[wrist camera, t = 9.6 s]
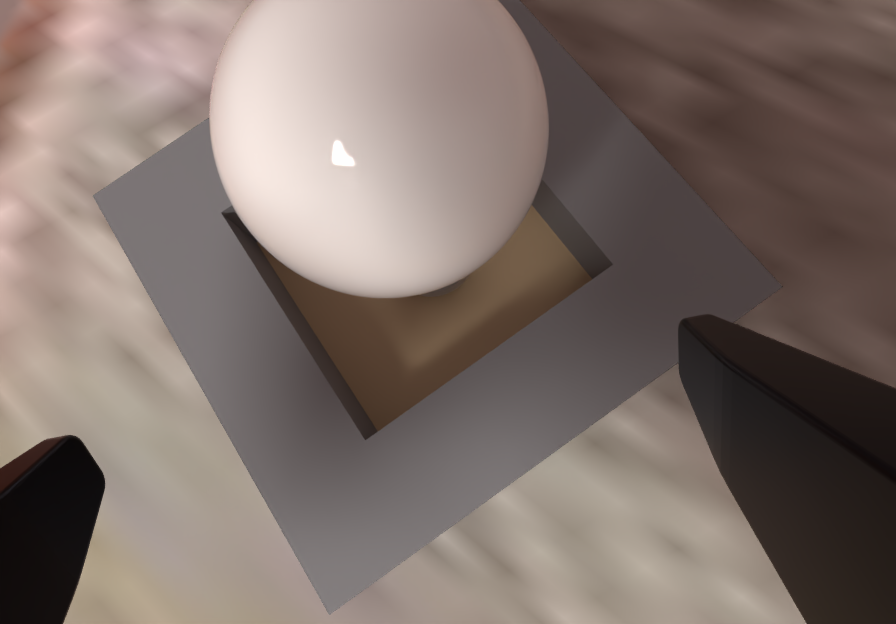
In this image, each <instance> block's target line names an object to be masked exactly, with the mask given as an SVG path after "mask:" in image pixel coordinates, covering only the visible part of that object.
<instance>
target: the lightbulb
mask: <svg viewBox="0 0 896 624" xmlns="http://www.w3.org/2000/svg"><path fill="white" fill-rule="evenodd" d="M209 127H210V138H211V146H212V151H213V156H214V160H215V164H216V168H217V171H218V175H219V177H220V180H221V183H222V185H223V188H224V190H225V192H226V195H227V197H228V199H229V201H230V203H231V204H232V206H233V208H234V210H235V211H236V213H237V215H238V216H239V218H240V219H241V221H242V222H243V224H244V225H245V226H246V228H247V229H248V230H249V232H250V233H251V234H252V235H253V236H254V238H255V239H256V240H257V241H258V242H259V243H260V244H261V245H262V246H263V247H264V248H265V249H266V250H267V251H268V252H269V253H270V254H271V255H272V256H273V257H275V258H276V259H277V260H278V261H279V262H281V263H282V264H283V265H285V266H286V267H287V268H289V269H290V270H292V271H293V272H295V273H297V274H298V275H300V276H302V277H304V278H305V279H307V280H309V281H311V282H313V283H316V284H318V285H320V286H323V287H325V288H328V289H331V290H334V291H337V292H340V293H344V294H348V295H353V296H359V297H366V298H380V299H389V298H403V297H410V296H416V295H420V296H426V297H436V296H441V295H445V294H448V293H450V292H452V291H454V290H455V289H457V288H458V287H460V286H461V285H462V284H463V283H464V282H465V281H466V279H467V278H468V277H469V275H470V274H471V273H473V272H474V271H476V270H477V269H478V268H480V267H481V266H483V265H484V264H485V263H486V262H488V261H489V260H490V259H491V258H492V257H493V256H494V255H495V254H497V253H498V252H499V251H500V250H501V249H502V247H503V246H504V245H505V244H506V243H507V242H508V241H509V240H510V238H511V237H512V236H513V235H514V233H515V232H516V230H517V229H518V228H519V226H520V225H521V223H522V222H523V220H524V218H525V217H526V215H527V213H528V211H529V209H530V207H531V205H532V203H533V201H534V199H535V196H536V194H537V191H538V189H539V186H540V183H541V180H542V176H543V172H544V168H545V163H546V158H547V151H548V143H549V111H548V103H547V96H546V91H545V86H544V82H543V78H542V75H541V72H540V68H539V66H538V63H537V60H536V58H535V55H534V53H533V51H532V49H531V47H530V45H529V43H528V41H527V39H526V37H525V35H524V34H523V32H522V30H521V29H520V27H519V26H518V24H517V23H516V21H515V20H514V18H513V17H512V16H511V14H510V13H509V12H508V11H507V9H506V8H505V7H504V6H503V5H502V4H501V3H500V1H499V0H253V1H252V2H251V3H250V4H249V5H248V7H247V8H246V9H245V11H244V12H243V13H242V15H241V16H240V18H239V19H238V21H237V22H236V24H235V25H234V27H233V29H232V30H231V32H230V34H229V36H228V38H227V40H226V42H225V44H224V47H223V49H222V52H221V54H220V57H219V60H218V63H217V66H216V70H215V73H214V78H213V82H212V88H211V96H210V108H209Z"/></svg>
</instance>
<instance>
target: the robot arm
mask: <svg viewBox="0 0 896 624" xmlns="http://www.w3.org/2000/svg"><path fill="white" fill-rule="evenodd" d="M678 361H679V373H680V378H681V381H682V384H683V386H684V389H685V391H686V393H687V396H688V398H689V400H690V403H691V405H692V407H693V410H694V412H695V415H696V417H697V419H698V422H699V424H700V426H701V429H702V431H703V434H704V436H705V438H706V441H707V443H708V445H709V448H710V450H711V452H712V455H713V457H714V459H715V462H716V464H717V466H718V468H719V471H720V473H721V475H722V476H723V478H724V480H725V482H726V484H727V486H728V488H729V489H730V491H731V493H732V495H733V496H734V498H735V500H736V502H737V503H738V505H739V507H740V509H741V510H742V512H743V514H744V516H745V517H746V519H747V521H748V522H749V524H750V526H751V528H752V529H753V531H754V533H755V535H756V536H757V538H758V540H759V542H760V543H761V545H762V547H763V549H764V550H765V552H766V554H767V556H768V557H769V559H770V561H771V562H772V564H773V566H774V568H775V569H776V571H777V573H778V575H779V576H780V578H781V580H782V582H783V583H784V585H785V587H786V589H787V590H788V592H789V594H790V596H791V597H792V599H793V601H794V602H795V604H796V606H797V608H798V609H799V611H800V613H801V615H802V616H803V618H804V620H805V622H806V623H807V624H896V388H894V387H891V386H889V385H886V384H884V383H881V382H879V381H876V380H874V379H871V378H869V377H866V376H864V375H861V374H859V373H856V372H854V371H851V370H849V369H846V368H844V367H841V366H839V365H836V364H834V363H831V362H829V361H826V360H824V359H821V358H819V357H816V356H814V355H811V354H809V353H806V352H804V351H801V350H799V349H796V348H794V347H792V346H789V345H787V344H784V343H782V342H779V341H777V340H774V339H772V338H769V337H767V336H764V335H762V334H759V333H757V332H754V331H752V330H749V329H747V328H744V327H742V326H739V325H737V324H734V323H732V322H729V321H727V320H724V319H722V318H719V317H717V316H714V315H711V314H703V315H698V316H693V317H688V318H684V319H682V320H681V321H680V322H679V325H678ZM104 490H105V478H104V475H103V472H102V471H101V469H100V468H99V466H98V465H97V463H96V462H95V460H94V459H93V457H92V455H91V454H90V452H89V451H88V449H87V448H86V446H85V445H84V443H83V442H82V441H81V440H80V439H79V438H78V437H76V436H73V435H66V436H61V437H55V438H50V439H46V440H44V441H42V442H40V443H39V444H37V445H36V446H34V447H33V448H31V449H29V450H28V451H26V452H25V453H23V454H22V455H20V456H19V457H17V458H16V459H14V460H12V461H11V462H9V463H8V464H6V465H5V466H3V467H2V468H0V624H63V623H64V620H65V617H66V615H67V612H68V610H69V607H70V605H71V602H72V599H73V597H74V594H75V591H76V588H77V585H78V582H79V579H80V576H81V573H82V569H83V566H84V562H85V559H86V555H87V552H88V548H89V544H90V541H91V537H92V534H93V530H94V526H95V523H96V519H97V516H98V512H99V508H100V505H101V501H102V498H103V494H104Z"/></svg>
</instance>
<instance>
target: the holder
mask: <svg viewBox="0 0 896 624" xmlns="http://www.w3.org/2000/svg"><path fill="white" fill-rule="evenodd" d="M499 1H500V3H501V4H502V5H503V6H504V7H505V8H506V9H507V11H508V12H509V13H510V14H511V16H512V17H513V18H514V20H515V21H516V23H517V24H518V26H519V27H520V29H521V30H522V32H523V34H524V35H525V37H526V39H527V41H528V43H529V45H530V47H531V49H532V51H533V53H534V55H535V58H536V60H537V63H538V66H539V68H540V72H541V75H542V78H543V82H544V86H545V91H546V96H547V103H548V111H549V143H548V151H547V158H546V163H545V168H544V172H543V176H542V180H541V183H540V186H539V189H538V191H537V194H536V196H535V199H534V201H533V203H532V205H531V207H530V209H529V211H528V213H527V215H526V217H525V218H524V220H523V222H522V223H521V225H520V226H519V228H518V229H517V230H516V232H515V233H514V235H513V236H512V237H511V238H510V240H509V241H508V242H507V243H506V244H505V245H504V246H503V247H502V249H501V250H500V251H499V252H498V253H497V254H495V255H494V256H493V257H492V258H491V259H490V260H489V261H488V262H486V263H485V264H484V265H483V266H481V267H480V268H478V269H477V270H476V271H474V272H473V273H471V274H470V275H469V277H468V278H467V279H466V281H465V282H464V283H463V284H462V285H461V286H460V287H458V288H457V289H455V290H454V291H452V292H450V293H448V294H445V295H441V296H436V297H426V296H420V295H416V296H410V297H403V298H389V299H380V298H366V297H359V296H353V295H348V294H344V293H340V292H337V291H334V290H331V289H328V288H325V287H323V286H320V285H318V284H316V283H313V282H311V281H309V280H307V279H305V278H304V277H302V276H300V275H298V274H297V273H295V272H293V271H292V270H290V269H289V268H287V267H286V266H285V265H283V264H282V263H281V262H279V261H278V260H277V259H276V258H275V257H273V256H272V255H271V254H270V253H269V252H268V251H267V250H266V249H265V248H264V247H263V246H262V245H261V244H260V243H259V242H258V241H257V240H256V239H255V238H254V236H253V235H252V234H251V233H250V232H249V230H248V229H247V228H246V226H245V225H244V224H243V222H242V221H241V219H240V218H239V216H238V215H237V213H236V211H235V210H234V208H233V206H232V204H231V203H230V201H229V199H228V197H227V195H226V192H225V190H224V188H223V185H222V183H221V180H220V177H219V175H218V171H217V168H216V164H215V160H214V156H213V151H212V146H211V138H210V127H209V118H207V119H206V120H204V121H203V122H201V123H200V124H199V125H197V126H196V127H194V128H193V129H191V130H190V131H188V132H187V133H185V134H184V135H182V136H181V137H179V138H178V139H176V140H175V141H173V142H172V143H170V144H169V145H167V146H166V147H164V148H163V149H161V150H160V151H158V152H157V153H155V154H154V155H152V156H151V157H149V158H148V159H146V160H145V161H143V162H142V163H141V164H139V165H138V166H136V167H135V168H133V169H132V170H130V171H129V172H127V173H126V174H124V175H123V176H121V177H120V178H118V179H117V180H115V181H114V182H112V183H111V184H109V185H108V186H106V187H105V188H103V189H102V190H100V191H99V192H97V193H96V194H94V195H93V197H94V199H95V201H96V202H97V204H98V206H99V208H100V210H101V211H102V213H103V215H104V217H105V218H106V220H107V222H108V224H109V226H110V227H111V229H112V231H113V233H114V234H115V236H116V238H117V240H118V241H119V243H120V245H121V247H122V249H123V250H124V252H125V254H126V256H127V257H128V259H129V261H130V263H131V264H132V266H133V268H134V270H135V272H136V273H137V275H138V277H139V279H140V280H141V282H142V284H143V286H144V288H145V289H146V291H147V293H148V295H149V296H150V298H151V300H152V302H153V303H154V305H155V307H156V309H157V311H158V312H159V314H160V316H161V318H162V319H163V321H164V323H165V325H166V326H167V328H168V330H169V332H170V334H171V335H172V337H173V339H174V341H175V342H176V344H177V346H178V348H179V350H180V351H181V353H182V355H183V357H184V358H185V360H186V362H187V364H188V365H189V367H190V369H191V371H192V373H193V374H194V376H195V378H196V380H197V381H198V383H199V385H200V387H201V389H202V390H203V392H204V394H205V396H206V397H207V399H208V401H209V403H210V404H211V406H212V408H213V410H214V412H215V413H216V415H217V417H218V419H219V420H220V422H221V424H222V426H223V427H224V429H225V431H226V433H227V435H228V436H229V438H230V440H231V442H232V443H233V445H234V447H235V449H236V451H237V452H238V454H239V456H240V458H241V459H242V461H243V463H244V465H245V466H246V468H247V470H248V472H249V474H250V475H251V477H252V479H253V481H254V482H255V484H256V486H257V488H258V489H259V491H260V493H261V495H262V497H263V498H264V500H265V502H266V504H267V505H268V507H269V509H270V511H271V513H272V514H273V516H274V518H275V520H276V521H277V523H278V525H279V527H280V528H281V530H282V532H283V534H284V536H285V537H286V539H287V541H288V543H289V544H290V546H291V548H292V550H293V551H294V553H295V555H296V557H297V559H298V560H299V562H300V564H301V566H302V567H303V569H304V571H305V573H306V575H307V576H308V578H309V580H310V582H311V583H312V585H313V587H314V589H315V590H316V592H317V594H318V596H319V598H320V599H321V601H322V603H323V605H324V606H325V608H326V610H327V612H328V613H329V615H330V614H331V613H333V612H334V611H335V610H337V609H338V608H340V607H341V606H342V605H344V604H345V603H346V602H348V601H349V600H351V599H352V598H353V597H355V596H356V595H358V594H359V593H360V592H362V591H363V590H364V589H366V588H367V587H369V586H370V585H371V584H373V583H374V582H375V581H377V580H378V579H380V578H381V577H382V576H384V575H385V574H387V573H388V572H389V571H391V570H392V569H393V568H395V567H396V566H398V565H399V564H400V563H402V562H403V561H405V560H406V559H407V558H409V557H410V556H411V555H413V554H414V553H416V552H417V551H418V550H420V549H421V548H422V547H424V546H425V545H427V544H428V543H429V542H431V541H432V540H434V539H435V538H436V537H438V536H439V535H440V534H442V533H443V532H445V531H446V530H447V529H449V528H450V527H452V526H453V525H454V524H456V523H457V522H458V521H460V520H461V519H463V518H464V517H465V516H467V515H468V514H469V513H471V512H472V511H474V510H475V509H476V508H478V507H479V506H481V505H482V504H483V503H485V502H486V501H487V500H489V499H490V498H492V497H493V496H494V495H496V494H497V493H499V492H500V491H501V490H503V489H504V488H505V487H507V486H508V485H510V484H511V483H512V482H514V481H515V480H516V479H518V478H519V477H521V476H522V475H523V474H525V473H526V472H528V471H529V470H530V469H532V468H533V467H534V466H536V465H537V464H539V463H540V462H541V461H543V460H544V459H546V458H547V457H548V456H550V455H551V454H552V453H554V452H555V451H557V450H558V449H559V448H561V447H562V446H563V445H565V444H566V443H568V442H569V441H570V440H572V439H573V438H575V437H576V436H577V435H579V434H580V433H581V432H583V431H584V430H586V429H587V428H588V427H590V426H591V425H593V424H594V423H595V422H597V421H598V420H599V419H601V418H602V417H604V416H605V415H606V414H608V413H609V412H610V411H612V410H613V409H615V408H616V407H617V406H619V405H620V404H622V403H623V402H624V401H626V400H627V399H628V398H630V397H631V396H633V395H634V394H635V393H637V392H638V391H640V390H641V389H642V388H644V387H645V386H646V385H648V384H649V383H651V382H652V381H653V380H655V379H656V378H657V377H659V376H660V375H662V374H663V373H664V372H666V371H667V370H669V369H670V368H671V367H673V366H674V365H675V364H677V363H678V362H679V361H678V325H679V322H680V321H681V320H682V319H684V318H688V317H693V316H698V315H703V314H711V315H714V316H717V317H719V318H722V319H724V320H727V321H729V322H732V323H734V322H735V321H736V320H738V319H739V318H740V317H742V316H743V315H745V314H746V313H747V312H749V311H750V310H751V309H753V308H754V307H756V306H757V305H758V304H760V303H761V302H763V301H764V300H765V299H767V298H768V297H769V296H771V295H772V294H774V293H775V292H776V291H778V290H779V289H780V288H782V286H781V284H780V283H779V282H778V281H777V280H776V279H775V278H774V277H773V276H772V275H771V274H770V272H769V271H768V270H767V269H766V268H765V267H764V266H763V265H762V264H761V263H760V262H759V260H758V259H757V258H756V257H755V256H754V255H753V254H752V253H751V252H750V251H749V250H748V249H747V247H746V246H745V245H744V244H743V243H742V242H741V241H740V240H739V239H738V238H737V237H736V235H735V234H734V233H733V232H732V231H731V230H730V229H729V228H728V227H727V226H726V225H725V223H724V222H723V221H722V220H721V219H720V218H719V217H718V216H717V215H716V214H715V213H714V211H713V210H712V209H711V208H710V207H709V206H708V205H707V204H706V203H705V202H704V201H703V199H702V198H701V197H700V196H699V195H698V194H697V193H696V192H695V191H694V190H693V189H692V187H691V186H690V185H689V184H688V183H687V182H686V181H685V180H684V179H683V178H682V177H681V175H680V174H679V173H678V172H677V171H676V170H675V169H674V168H673V167H672V166H671V165H670V163H669V162H668V161H667V160H666V159H665V158H664V157H663V156H662V155H661V154H660V153H659V151H658V150H657V149H656V148H655V147H654V146H653V145H652V144H651V143H650V142H649V141H648V140H647V138H646V137H645V136H644V135H643V134H642V133H641V132H640V131H639V130H638V129H637V128H636V126H635V125H634V124H633V123H632V122H631V121H630V120H629V119H628V118H627V117H626V116H625V114H624V113H623V112H622V111H621V110H620V109H619V108H618V107H617V106H616V105H615V104H614V102H613V101H612V100H611V99H610V98H609V97H608V96H607V95H606V94H605V93H604V92H603V90H602V89H601V88H600V87H599V86H598V85H597V84H596V83H595V82H594V81H593V80H592V78H591V77H590V76H589V75H588V74H587V73H586V72H585V71H584V70H583V69H582V68H581V66H580V65H579V64H578V63H577V62H576V61H575V60H574V59H573V58H572V57H571V56H570V54H569V53H568V52H567V51H566V50H565V49H564V48H563V47H562V46H561V45H560V44H559V42H558V41H557V40H556V39H555V38H554V37H553V36H552V35H551V34H550V33H549V32H548V31H547V29H546V28H545V27H544V26H543V25H542V24H541V23H540V22H539V21H538V20H537V19H536V17H535V16H534V15H533V14H532V13H531V12H530V11H529V10H528V9H527V8H526V7H525V5H524V4H523V3H522V2H521V1H520V0H499Z"/></svg>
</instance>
